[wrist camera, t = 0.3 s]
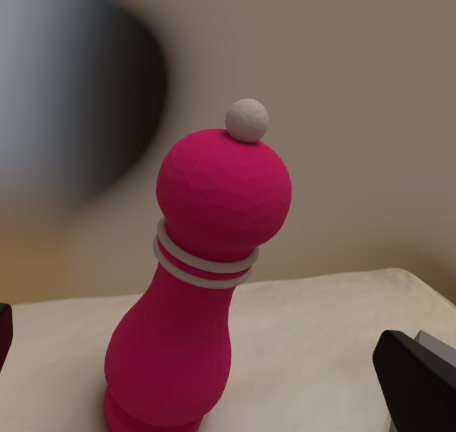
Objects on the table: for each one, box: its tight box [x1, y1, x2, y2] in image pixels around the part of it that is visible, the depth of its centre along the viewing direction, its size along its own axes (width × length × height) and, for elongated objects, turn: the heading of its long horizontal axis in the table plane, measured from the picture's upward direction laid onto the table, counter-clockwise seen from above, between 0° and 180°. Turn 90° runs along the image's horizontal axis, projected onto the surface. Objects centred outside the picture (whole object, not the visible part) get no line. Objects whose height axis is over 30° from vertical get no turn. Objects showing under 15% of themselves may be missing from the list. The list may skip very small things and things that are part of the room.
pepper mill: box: [104, 99, 292, 432], centre depth 20 cm, size 7×7×20 cm
